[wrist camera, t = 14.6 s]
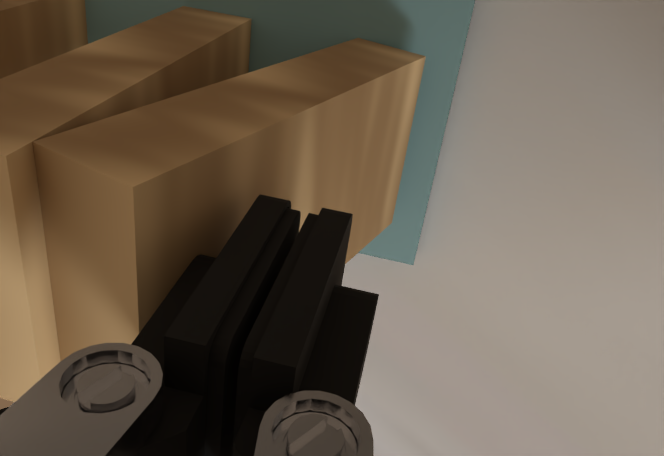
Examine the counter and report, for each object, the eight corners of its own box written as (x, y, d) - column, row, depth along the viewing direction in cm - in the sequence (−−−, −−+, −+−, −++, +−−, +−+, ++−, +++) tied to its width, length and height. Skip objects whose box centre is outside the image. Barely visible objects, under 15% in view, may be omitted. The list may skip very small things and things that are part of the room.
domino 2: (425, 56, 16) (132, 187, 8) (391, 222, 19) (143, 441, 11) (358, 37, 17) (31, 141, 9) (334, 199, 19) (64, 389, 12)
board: (478, -14, 16) (478, -11, 16) (414, 256, 20) (412, 265, 20) (-305, -146, 19) (-323, -146, 18) (-215, 117, 23) (-229, 122, 23)
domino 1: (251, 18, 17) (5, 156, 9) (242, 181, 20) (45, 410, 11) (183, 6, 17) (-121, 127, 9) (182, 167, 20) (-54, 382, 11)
